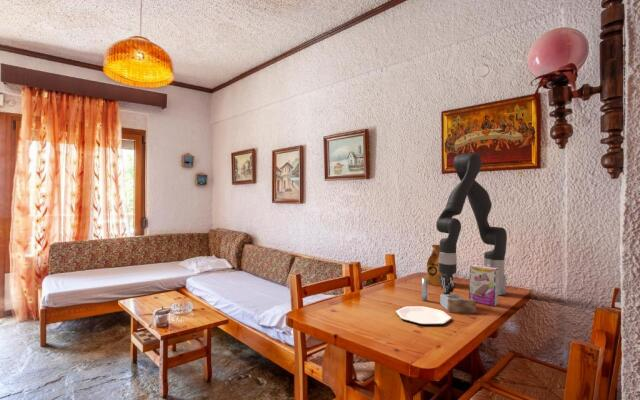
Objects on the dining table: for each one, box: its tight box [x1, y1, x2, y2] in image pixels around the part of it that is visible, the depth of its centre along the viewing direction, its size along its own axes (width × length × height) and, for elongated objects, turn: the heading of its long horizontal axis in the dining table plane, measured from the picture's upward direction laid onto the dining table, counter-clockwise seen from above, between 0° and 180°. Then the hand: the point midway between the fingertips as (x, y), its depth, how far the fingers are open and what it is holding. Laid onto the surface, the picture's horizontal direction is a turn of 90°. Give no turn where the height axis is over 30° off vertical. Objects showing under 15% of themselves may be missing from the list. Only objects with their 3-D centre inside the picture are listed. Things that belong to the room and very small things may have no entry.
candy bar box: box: [468, 264, 499, 307], centre depth 155 cm, size 11×5×16 cm, turn 47°
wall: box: [447, 298, 477, 314], centre depth 143 cm, size 11×2×5 cm, turn 92°
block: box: [439, 293, 465, 311], centre depth 147 cm, size 8×8×4 cm
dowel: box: [421, 277, 429, 302], centre depth 157 cm, size 3×3×10 cm
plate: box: [395, 305, 452, 326], centre depth 135 cm, size 20×20×2 cm
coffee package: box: [425, 243, 442, 287], centre depth 190 cm, size 10×12×22 cm
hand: (446, 300), depth 154 cm, fingers closed
